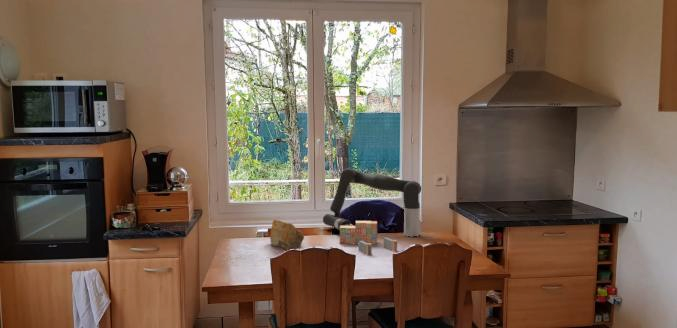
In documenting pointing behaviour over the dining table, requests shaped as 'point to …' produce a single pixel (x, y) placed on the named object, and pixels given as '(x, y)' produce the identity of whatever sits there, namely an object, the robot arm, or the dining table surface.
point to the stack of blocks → (359, 232)
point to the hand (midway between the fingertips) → (356, 230)
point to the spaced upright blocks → (367, 247)
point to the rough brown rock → (285, 235)
